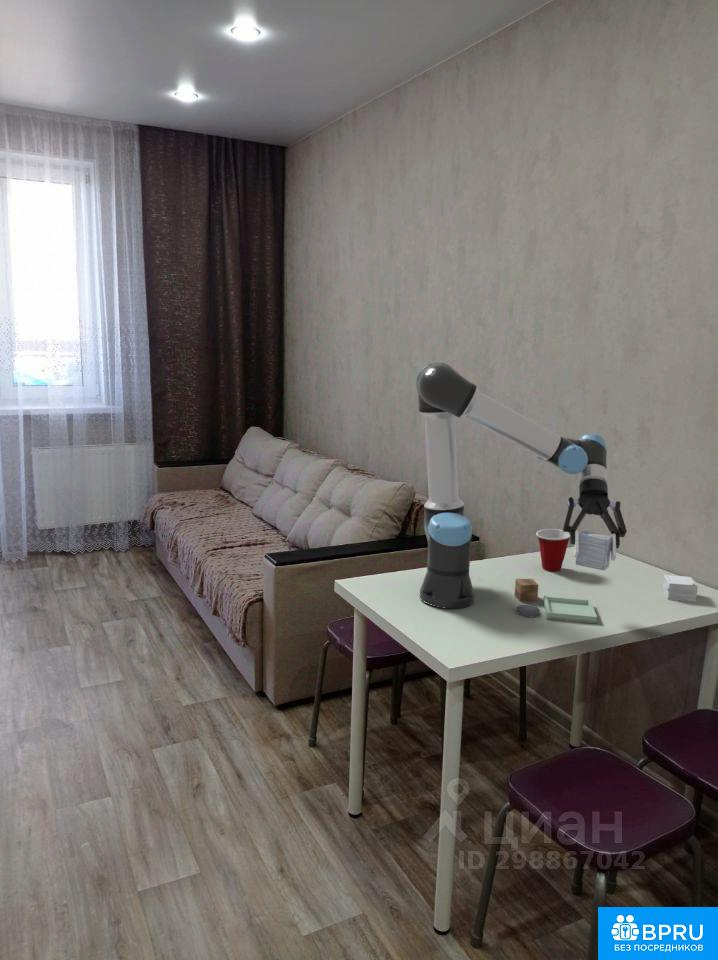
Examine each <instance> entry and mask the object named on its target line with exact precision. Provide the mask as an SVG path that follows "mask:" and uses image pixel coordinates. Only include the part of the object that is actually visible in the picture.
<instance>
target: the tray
mask: <svg viewBox="0 0 718 960" xmlns="http://www.w3.org/2000/svg"><path fill="white" fill-rule="evenodd" d="M542 599H543V601H542V602H543V607H544V611H545V617H546V620H553V621H565V622H577V623H585V624H586V623H587V622H588V623H587V624H597V622H598V615H597V613H596V611H595V607H594V606H593V603H592V600H591V599H588V598H587V599H586V598H576V597H565V596H564V597H563V596H562V597H561V596H554V595H553V596H551V595H543V598H542Z"/></svg>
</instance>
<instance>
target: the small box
mask: <svg viewBox="0 0 718 960" xmlns="http://www.w3.org/2000/svg"><path fill="white" fill-rule="evenodd" d="M662 585H663V586H662V591H663V593H664V595H665V597H666V599H667V600H669V601H670V600H671V601H681V602H682V601H683V602H693V603H696V602H697V597H698V596H697V595H698V587H699V586H698V584H697V583H696V580H694V579H693V577H692V576H684V575H671V574H669V575H668V574H664V575H663V584H662Z"/></svg>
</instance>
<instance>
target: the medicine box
mask: <svg viewBox="0 0 718 960" xmlns="http://www.w3.org/2000/svg"><path fill="white" fill-rule="evenodd" d="M611 544H612V535H606V534H602V533H597V532H592V531H591V532H590V531H582V532H579V553H578V556H577V557H575V566H581V567H584V568H591V569H595V570H600V571H606V570H607V569H608V568H610V562H611Z"/></svg>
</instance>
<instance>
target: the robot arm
mask: <svg viewBox="0 0 718 960" xmlns="http://www.w3.org/2000/svg"><path fill="white" fill-rule="evenodd" d="M415 381H416V384H415V385H416V390H417V398H418V400H417V401H418V412H419V414H420V415H421V416H423V418H424V425H425V426H424V427H425V429H424V430H425V432H424V433H425V447H426V448H425V449H426V450H425V451H426V466H427V468H426V469H427V471H426V472H427V486H428V488H427V489H428V499H427V500H426V502H425V503H424V505H423V509H424V511H423V512H424V522H423V530H424V533H425V536H426V540H427V562H426V563H427V567H426V573H425V575H424V578H423V581H422V584H421V586H420V588H419V599H420V598H421V599H422V600H423V601H425V602H427V603H429V604H432V605H435V606H439V607H445V608H444V609H447V608H456V609H463V608H467V607H469V606H472V605H473V604H474V602H475V590H474V587H473V583H472V580H471V577H470V567H471V565H470V564H471V550H472V549H471V545H472V537H473V536H472V535H473V525H472V522H471V520H470V519H469V518H468V517H467V516H466V515H465V503H464V501H463V500H461V499H460V497H459V483H458V482H459V481H458V479H459V478H458V475H459V474H458V457H457V455H458V454H457V435H456V434H457V433H456V429H457V428H456V417H457V418H459V419H462V418H467V419H469V420H471V421H473V422H474V423H476V424H478V425H480V426H481V427H483V428H485V429H487V430H489V431H491V432H493V433H495V434H497V435H498V436H499V437H502V438H503V439H505V440H508V441H509V442H511V443H513V444H515V445H517V446H519V447H520V448H522V449H524V450H526V451H528V452H530V453H532V454H533V455H536V457H537V459H538V460H541V461H545V462H548V464H551V465H553V466H555V467H557V468H559V469H560V470H561V471H563V472H564V473H567V474H570V475H576V474H578V479H579V480H578V483H579V486H578V488H579V489H578V490H579V491H578V494H579V497H578V498H573V497H572V496H571V497H569V498H568V500H567V508H568V509H567V513H566V517H565V521H564V524H563V527H562V530H563V531H564V532H568V533H569V535H570V538H569V544H570V545H573V557H574V558H576V557H577V556H578V553H579V534H580V532H579V530H577V529H578V528H579V527H580V524H581V523H582V521H583V520H584V518H585V517H586V515H590V516H591V515H595V516H599V517H600V518H601V520H603V522H604V524H605V525H606V527H607V529H608V531H609V533H610V534H611V536H612V544H611V553H610V561H615V560H616V558H617V549H619V547H620V544H621V538H624V537H625V536H626V534H627V532H628V530H627V527H626V525H625V521H624V517H623V515H622V511H621V502H620V501H619V500H617V501H616V502H614V501H610V500H611V499H609V491H608V489H609V488H608V487H609V486H608V471H607V470H608V469H607V467H608V466H607V454H608V453H607V445H606V440H605V439H604V437H602V436H601V435H599V434H597V433H596V434H595V433H591V434H584V435H583V436H581V437H580V438H579V439H574V438H569V437H564V436H561V435H559V434H558V433H555V432H553V431H552V430H550V429H549V428H547V427H545V426H543V425H541V424H539V423H537V422H535V421H534V420H532V419H530V418H528V417H526V416H525V415H523V414H521V413H519V412H517V411H515V410H514V409H512V408H510V407H508V406H506V405H505V404H503V403H501V402H499V401H497V400H495V399H494V398H492V397H490V396H488V395H486V394H484V393H482V392H481V391H480V390H479V386H478V385H476V384H474V383H473V382H471V381H469V380H468V379H466V378H465V377H464V376H462V374H461V373H459V372H458V371H457V370H456V369H454V368H453V367H452V366H450V365H449V364H447V363H444V362H432V363H429V364H427V365H426V366H424V367H423V368H422V369H421V370H420V371H419V374H418V375H417V378H416V380H415ZM577 505H578V506H579V507H580V508H581V510H580V513H579V514H578V516H577V518H576V519H575V520H574V522H573V524H572V525H570V523H571V519H572V516H573V515H572V514H573V511H574V508H576V507H577ZM609 507H610V509H611V511H612V512H613V517H614V520H615V522H614V520H613V518H612V517H611V515H610V513H609V510H608V508H609ZM615 523H616V524H615ZM421 599H420V600H421ZM439 607H438V608H439Z"/></svg>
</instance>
